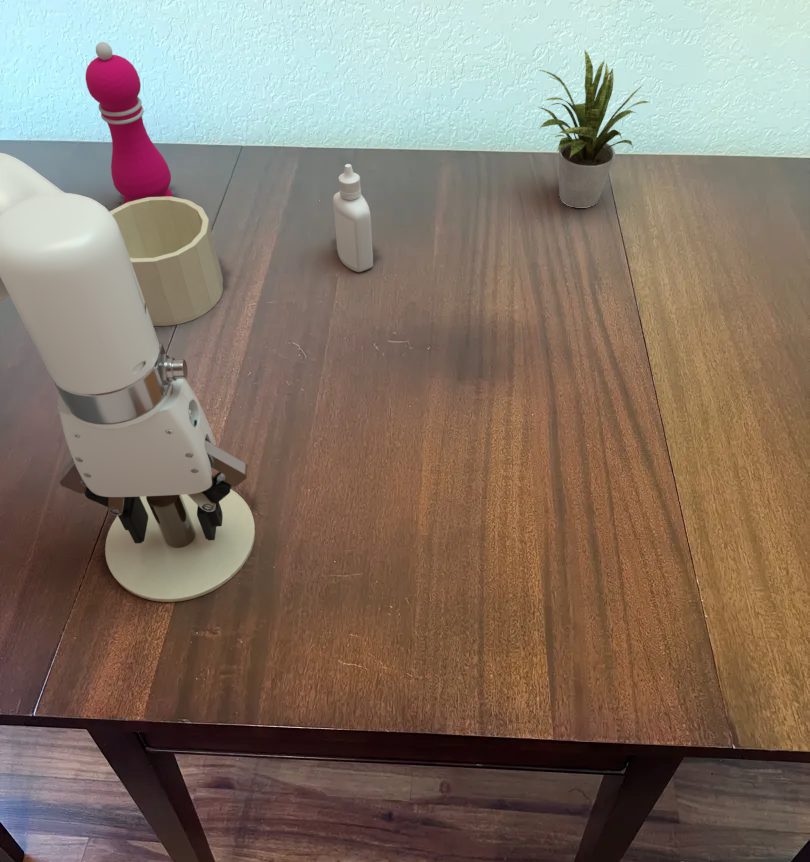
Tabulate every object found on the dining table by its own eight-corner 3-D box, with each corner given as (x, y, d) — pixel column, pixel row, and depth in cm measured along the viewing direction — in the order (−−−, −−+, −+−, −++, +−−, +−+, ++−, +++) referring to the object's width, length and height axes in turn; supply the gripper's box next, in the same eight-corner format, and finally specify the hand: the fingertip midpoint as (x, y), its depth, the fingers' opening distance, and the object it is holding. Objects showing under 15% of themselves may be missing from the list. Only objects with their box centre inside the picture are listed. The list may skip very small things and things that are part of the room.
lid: (96, 609, 68) (66, 563, 62) (122, 489, 75) (97, 438, 70) (251, 602, 68) (235, 556, 62) (261, 483, 75) (248, 432, 70)
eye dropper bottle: (337, 274, 94) (328, 180, 85) (337, 247, 98) (328, 153, 88) (373, 273, 95) (368, 178, 85) (372, 245, 98) (367, 151, 88)
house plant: (507, 171, 108) (520, 40, 94) (604, 160, 109) (629, 29, 96) (536, 230, 99) (554, 96, 86) (640, 217, 101) (673, 83, 87)
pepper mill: (153, 230, 100) (101, 62, 84) (112, 214, 103) (54, 48, 86) (190, 203, 104) (147, 37, 88) (149, 188, 106) (101, 23, 90)
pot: (109, 328, 89) (83, 263, 82) (127, 262, 96) (105, 198, 90) (218, 324, 89) (201, 259, 83) (227, 259, 97) (213, 194, 90)
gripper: (239, 337, 57) (275, 492, 72) (4, 346, 57) (89, 500, 72) (230, 410, 53) (271, 559, 68) (-24, 420, 53) (72, 568, 67)
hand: (177, 527), depth 70 cm, fingers open, 5 cm apart
